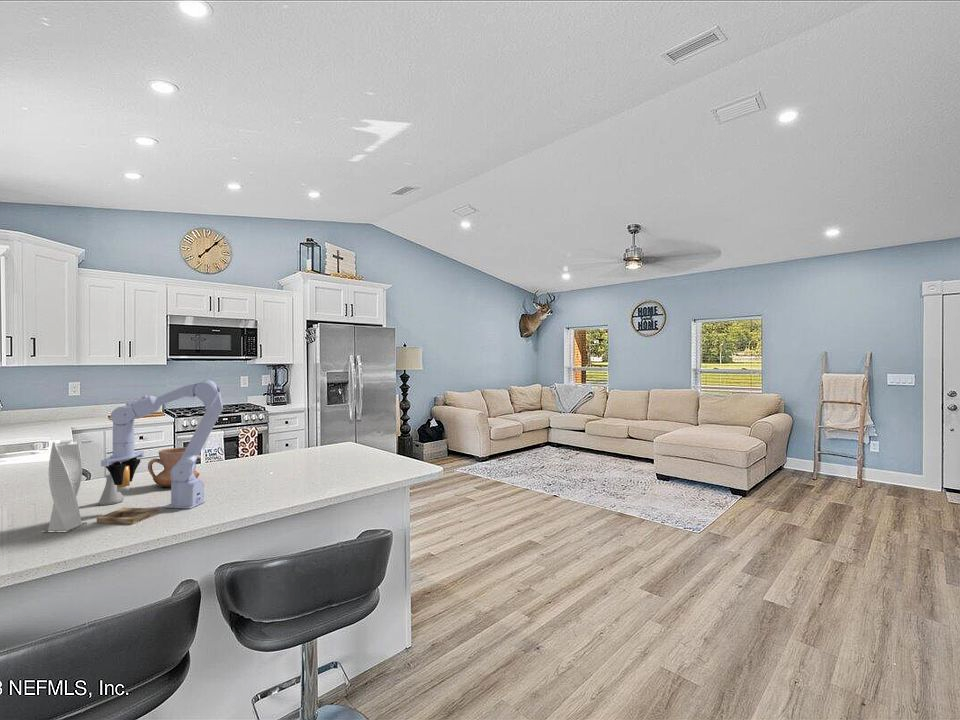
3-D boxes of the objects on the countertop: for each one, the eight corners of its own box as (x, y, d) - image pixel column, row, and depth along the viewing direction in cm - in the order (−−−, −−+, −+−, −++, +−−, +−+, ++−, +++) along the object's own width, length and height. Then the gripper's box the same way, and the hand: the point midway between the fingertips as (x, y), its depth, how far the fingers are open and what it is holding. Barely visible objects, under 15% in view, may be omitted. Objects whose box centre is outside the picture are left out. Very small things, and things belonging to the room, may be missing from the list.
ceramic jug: (203, 478, 195) (203, 444, 195) (199, 487, 182) (199, 451, 182) (151, 482, 187) (151, 448, 187) (143, 492, 174) (144, 455, 174)
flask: (93, 506, 158) (93, 477, 158) (104, 500, 165) (104, 472, 165) (117, 504, 160) (118, 476, 160) (127, 498, 167) (128, 471, 167)
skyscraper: (91, 523, 141) (92, 433, 141) (69, 533, 133) (69, 437, 133) (63, 523, 141) (64, 432, 141) (39, 533, 133) (39, 437, 133)
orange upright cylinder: (132, 489, 155) (132, 465, 155) (123, 492, 151) (123, 467, 151) (122, 488, 155) (123, 465, 155) (113, 491, 152) (114, 467, 152)
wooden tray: (158, 513, 151) (158, 508, 151) (132, 524, 141) (132, 519, 141) (123, 512, 152) (123, 507, 152) (96, 522, 142) (96, 518, 142)
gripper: (130, 438, 161) (130, 477, 161) (92, 446, 146) (92, 488, 146) (149, 438, 160) (149, 477, 160) (112, 446, 145) (112, 489, 146)
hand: (123, 483), depth 153 cm, fingers closed on orange upright cylinder, 3 cm apart
